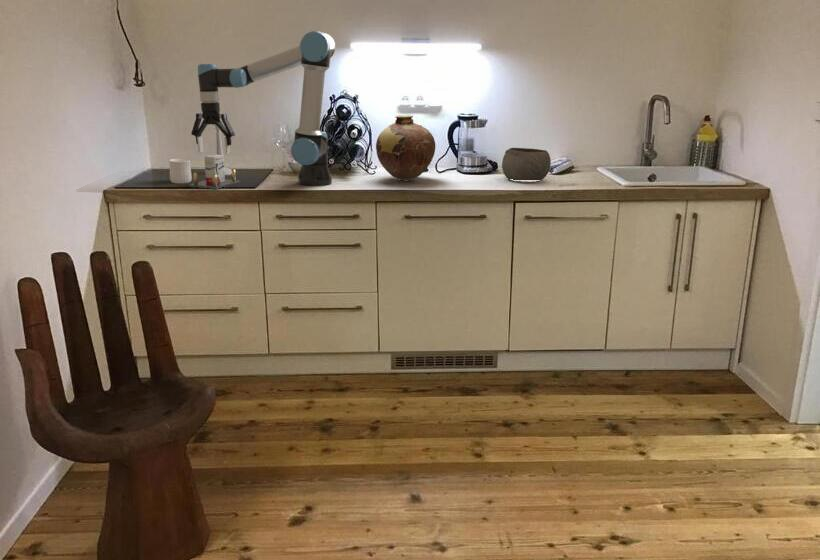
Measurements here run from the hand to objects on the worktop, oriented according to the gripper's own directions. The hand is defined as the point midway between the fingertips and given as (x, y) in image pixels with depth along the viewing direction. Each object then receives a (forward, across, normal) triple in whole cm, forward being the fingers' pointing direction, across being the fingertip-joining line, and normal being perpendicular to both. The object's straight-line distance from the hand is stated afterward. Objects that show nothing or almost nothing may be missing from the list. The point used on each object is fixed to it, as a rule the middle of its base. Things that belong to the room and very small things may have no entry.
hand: (214, 152), depth 300 cm
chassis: (+14, +1, 0) cm, 14 cm away
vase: (+17, -71, -47) cm, 87 cm away
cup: (+14, +19, 0) cm, 23 cm away
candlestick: (+14, +16, -27) cm, 34 cm away
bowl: (+18, -123, -73) cm, 144 cm away
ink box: (+13, +1, 0) cm, 13 cm away
